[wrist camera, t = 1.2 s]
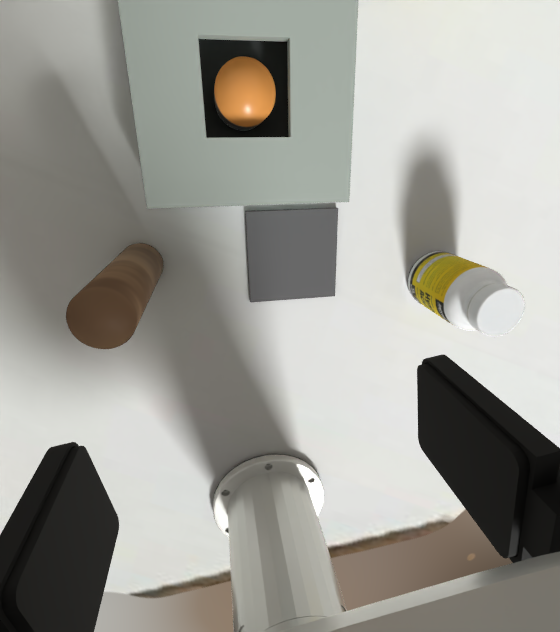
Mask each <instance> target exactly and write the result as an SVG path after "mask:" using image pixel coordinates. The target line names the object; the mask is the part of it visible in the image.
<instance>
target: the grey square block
mask: <svg viewBox="0 0 560 632" xmlns="http://www.w3.org/2000/svg"><path fill="white" fill-rule="evenodd" d="M118 6H119V14H120V21H121V28H122V35H123V42H124V49H125V56H126V63H127V70H128V77H129V84H130V92H131V99H132V106H133V113H134V120H135V127H136V134H137V141H138V148H139V155H140V163H141V170H142V177H143V184H144V191H145V198H146V205H147V209H158V208H186V207H215V206H243V205H272V204H301V203H329V202H349V196H350V173H351V151H352V129H353V107H354V85H355V62H356V40H357V18H358V0H118ZM198 39H218V40H251V41H283V42H287V49H288V137H239V138H206V127H205V115H204V102H203V90H202V78H201V65H200V53H199V41H198Z"/></svg>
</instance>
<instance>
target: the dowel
mask: <svg viewBox="0 0 560 632" xmlns="http://www.w3.org/2000/svg"><path fill="white" fill-rule="evenodd" d="M162 271H163V260H162V257H161V255H160V254H159V252H158V251H157V250H156V249H155V248H153V247H152V246H150V245H147V244H143V243H137V244H133V245H130V246H128V247H127V248H126V249H125V250H124V251H123V252H122V253H120V254H119V255H118V256H117V257H116V258H115V259H114V260H113V261H112V262H111V263H110V264H109V265H108V266H107V267H106V268H105V269H103V270H102V271H101V272H100V273H99V274H98V275H97V276H96V277H95V278H94V279H93V280H92V281H91V282H90V283H89V284H87V285H86V286H85V287H84V288H83V289H82V290H81V291H80V292H79V293H78V294H77V295H76V296H75V297H74V298H73V299H72V300H71V301H70V303H69V305H68V307H67V311H66V320H67V324H68V327H69V329H70V331H71V332H72V334H73V335H74V336H75V337H76V338H77V339H78V340H79V341H81V342H82V343H84V344H86V345H88V346H90V347H93V348H98V349H111V348H115V347H118V346H121V345H122V344H124V343H125V342H127V341H128V340H129V339H130V338H131V336H132V335H133V333H134V331H135V329H136V327H137V325H138V323H139V320H140V318H141V316H142V314H143V312H144V310H145V308H146V305H147V303H148V301H149V299H150V297H151V295H152V293H153V290H154V288H155V286H156V284H157V282H158V280H159V278H160V275H161V273H162Z"/></svg>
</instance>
